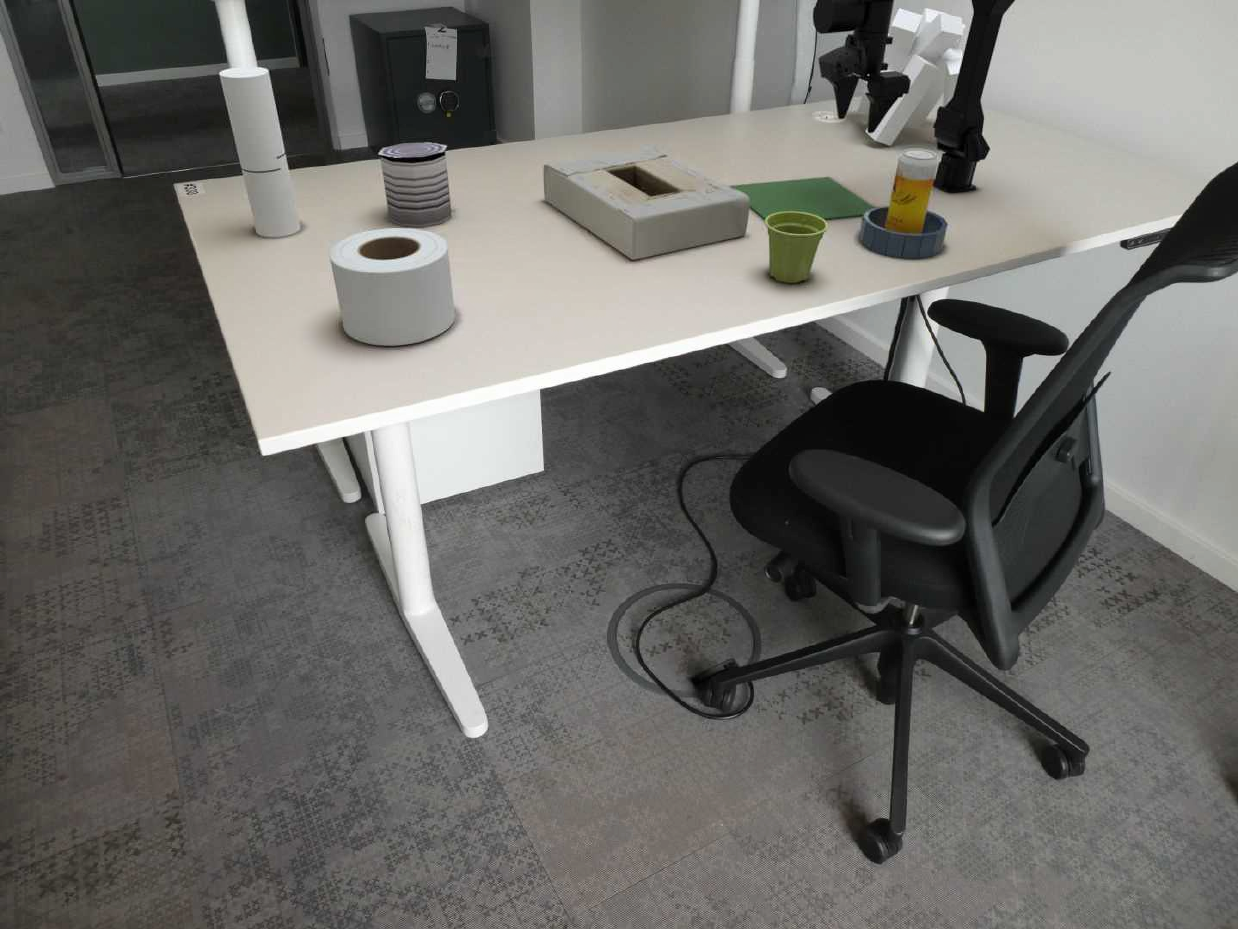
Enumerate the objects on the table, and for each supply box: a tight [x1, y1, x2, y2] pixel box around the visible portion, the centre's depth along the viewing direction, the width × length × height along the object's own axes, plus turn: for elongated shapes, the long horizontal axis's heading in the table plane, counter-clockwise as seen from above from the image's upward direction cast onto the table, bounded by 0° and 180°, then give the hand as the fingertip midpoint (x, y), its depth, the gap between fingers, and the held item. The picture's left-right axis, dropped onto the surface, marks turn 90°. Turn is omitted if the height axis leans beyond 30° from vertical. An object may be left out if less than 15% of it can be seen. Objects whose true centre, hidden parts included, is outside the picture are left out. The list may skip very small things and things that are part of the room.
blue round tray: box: [858, 204, 949, 260], centre depth 149 cm, size 14×14×4 cm
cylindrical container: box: [218, 66, 301, 238], centre depth 142 cm, size 7×7×25 cm
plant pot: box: [764, 211, 829, 284], centre depth 135 cm, size 9×9×9 cm
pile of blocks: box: [856, 7, 967, 147], centre depth 195 cm, size 35×30×35 cm
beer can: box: [885, 147, 939, 234], centre depth 145 cm, size 6×6×15 cm
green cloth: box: [729, 176, 875, 221], centre depth 165 cm, size 22×20×1 cm
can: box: [377, 141, 452, 228], centre depth 152 cm, size 11×11×12 cm
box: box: [542, 145, 750, 261], centre depth 155 cm, size 23×8×32 cm
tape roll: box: [329, 227, 456, 347], centre depth 120 cm, size 16×15×11 cm
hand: (855, 125), depth 156 cm, fingers open, 9 cm apart
